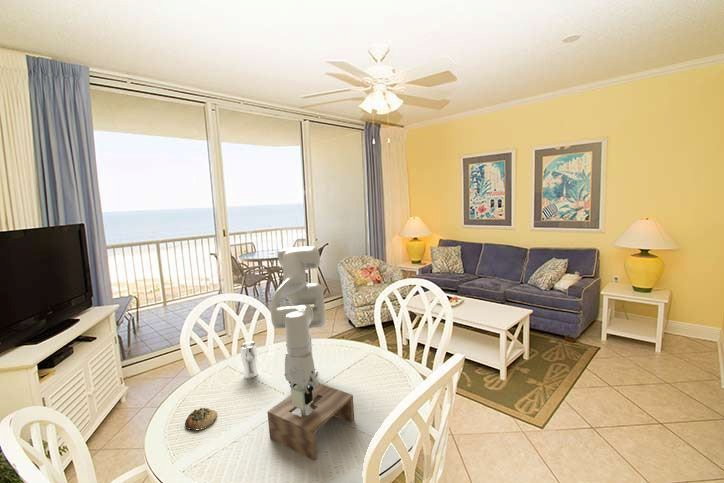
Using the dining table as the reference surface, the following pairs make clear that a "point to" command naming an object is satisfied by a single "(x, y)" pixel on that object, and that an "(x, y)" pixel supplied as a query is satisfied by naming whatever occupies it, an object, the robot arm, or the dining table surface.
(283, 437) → the keyhole shelf
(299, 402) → the peg
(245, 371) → the marbled vase
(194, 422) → the bread roll
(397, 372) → the dining table surface
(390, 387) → the dining table surface
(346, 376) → the dining table surface
